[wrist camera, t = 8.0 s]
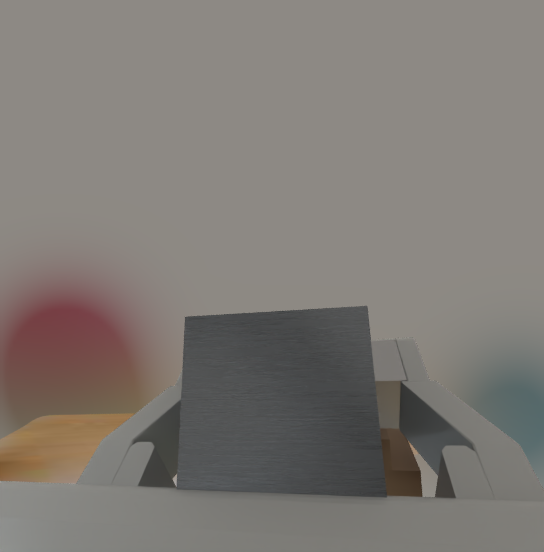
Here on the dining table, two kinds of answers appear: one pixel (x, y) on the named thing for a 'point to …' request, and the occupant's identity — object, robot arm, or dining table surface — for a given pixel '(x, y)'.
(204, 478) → the steel bar
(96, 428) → the dining table surface
